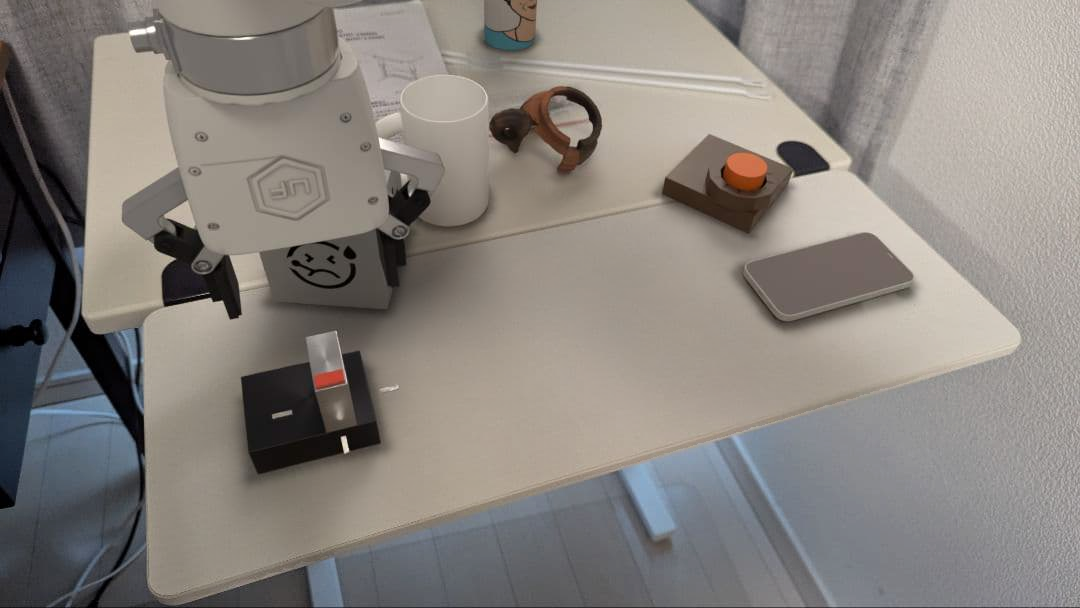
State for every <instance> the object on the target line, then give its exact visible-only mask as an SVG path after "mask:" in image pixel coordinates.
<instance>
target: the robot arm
mask: <svg viewBox="0 0 1080 608" xmlns="http://www.w3.org/2000/svg"><path fill="white" fill-rule="evenodd" d="M154 1H155V4H156V7H157V8H153V9H152V16H145V17H144V20H135V21H128V22H127V31H128V35H129V38H130V42H131V45H132V47H133V48H132V49H134V52H135V53H136V54H140V53H142V54H143V53H150V52H153V53H154V55H159V54H163V56H164V59H165V60H166V61H167V63H166V65H165V67H164V75H163V79H162V86H163V87H162V88H163V90H162V91H163V99H164V100H163V102H164V107H165V113H166V120H167V126H168V130H169V135H170V140H171V144H172V148H173V152H174V155H175V159H176V163H177V167H176V168H174V169H173V170H171V171H170V172H168V173H167V174H165V175H163V176H161V177H160V178H158V179H157V180H155V181H153V182H152V183H150V184H149V185H147V186H145V187H144V188H142V189H141V190H139V191H138V192H136V193H135V194H133V195H131V196H129V197H128V198H127V199H125V200H124V201H123V202H122V203H121V204H122V205H121V222H122V224H124V226H126V227H127V228H129V229H130V230H131V231H133V232H134V233H135V234H136V235H138V236H139V237H141V238H142V239H143V240H145V241H149V242H150V243H151V244H153V248H154V250H156V251H157V252H158V253H160V254H163V255H165V256H168V257H171V258H173V259H175V260H178V261H181V262H183V263H186V264H188V265H191V270H192V271H193V272H194V273H195V274H197V275H202V278H203V280H204V283H205V286H206V288H207V290H208V291H207V292H208V294H209V296H210V298H211V301H212V303H217V302H223V305H224V309H225V311H226V313H227V316H228V319H229V320H236V319H240V317H241V316H243V311H242V301H241V292H240V285H239V280H238V277H237V274H236V270H235V268H234V266H233V263H232V260H231V256H243V255H249V254H256V253H259V252H263V251H269V250H275V249H281V248H286V247H292V246H298V245H304V244H309V243H315V242H320V241H326V240H332V239H337V238H343V237H348V236H353V235H358V234H362V233H366V232H369V231H372V230H374V229H376V234H377V242H378V249H379V256H380V261H381V264H382V268H383V271H384V275H385V278H386V282H387V285H388V287H389V286H391V288H393V289H395V288H400V278H399V270H398V269H399V268H403V267H407V264H408V263H407V255H406V253H407V252H406V244H405V243H404V238H405V237H406V238H407V236H409V234H410V226H411V225H412V224H413V223H414V222H415V221H416V220H417V219H418V218H419V216H420V215H421V214H422V213H423V212H424V211H425V210H426V209H427V207H428V206H429V205H430V203H431V200H430V197H431V195H432V193H434V192H435V190H436V188H437V186H438V185H439V183H440V181H441V179H442V177H443V175H444V173H445V168H444V165H443V163H442V160H441V158H440V156H439V155H438V154H437V153H434V152H431V151H427V150H423V149H420V148H416V147H412V146H409V145H405V144H404V143H401V142H397V141H394V140H390V139H389V140H387V139H383V138H380V137H378V133H377V128H376V122H377V121H376V117H375V114H374V109H373V104H372V101H371V97H370V93H369V91H368V87H367V84H366V80H365V77H364V74H363V72H362V69H361V67H360V64H359V61H358V59H357V56H356V54H354V52H353V50H352V47H351V45H349V43H348V42H347V41H346V40H344V39H343V38H341V37H340V36H339V35H338V28H337V22H336V15H335V8H337V7H345V6H349V5H353V4H356V3H359V2H362V1H363V0H154ZM384 169H386V170H390V171H394V172H398V173H402V174H406V175H410V176H412V179H410V180H409V181H408V182H407V183H406V184H405V185H404V186H403V187H402V188H401V189H400V190H399V191H398V192H397V193H396V194H395V195H393V194H392V193H390V192H389V191H387V184H386V178H385V172H384ZM186 202H188V205H189V208H190V211H191V215H192V217H193V221H194V224H195V225H194V227H190V226H188V225H185V224H183V223H182V222H181V223H180V222H178V221H176V220H174V219H171V218H167V217H165V215H166V214H168V213H169V212H171V211H172V210H175V209H176V208H178V207H179V206H180V205H182V204H184V203H186ZM397 267H398V269H397Z"/></svg>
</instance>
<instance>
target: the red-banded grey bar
mask: <svg viewBox="0 0 1080 608" xmlns="http://www.w3.org/2000/svg"><path fill="white" fill-rule="evenodd" d="M305 344H306V351H307V356H308V362H310V367H311V373H312V379H313V384H314V390H315V394H316V397H317V401H318V405H319V408H320V412H321V415H322V419H323V422H324V426H325V429H326V432H332V431H336V430H340V429H344V428H348V427H352V426H356V425H357V421H356V417H355V412H354V408H353V403H352V398H351V394H350V389H349V384H348V380H347V375H346V371H345V366H344V362H343V357H342V354H343V353H342V349H341V345H340V340H339V335H338V332H337V330H333V331H327V332H323V333H318V334H314V335H310V336H305Z"/></svg>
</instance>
